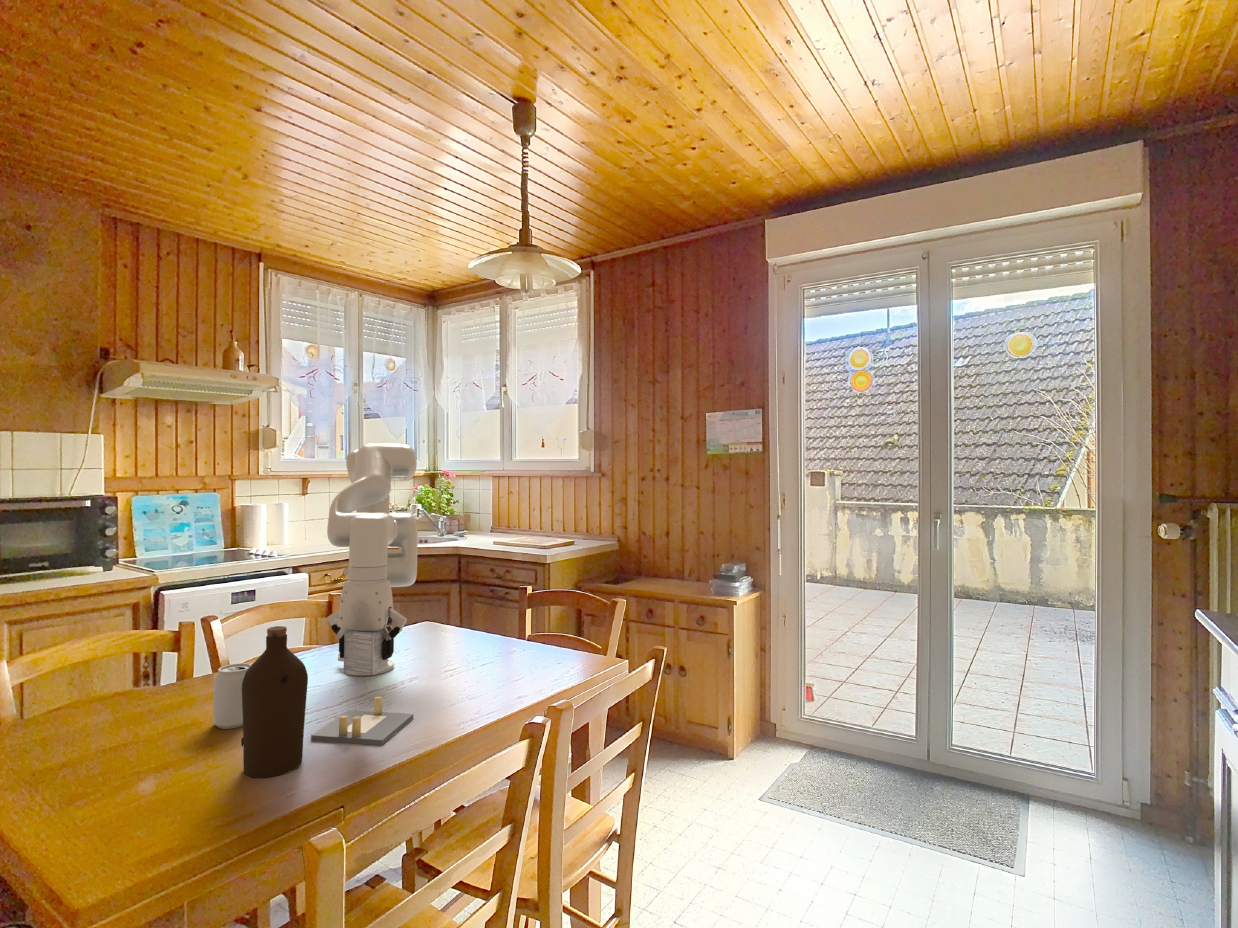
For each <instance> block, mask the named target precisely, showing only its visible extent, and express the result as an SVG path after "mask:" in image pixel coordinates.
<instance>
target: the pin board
mask: <svg viewBox="0 0 1238 928" xmlns="http://www.w3.org/2000/svg"><path fill="white" fill-rule="evenodd" d="M373 705H374V711H369V710H353V709H348V710H347V711H345V712H343V713H342V714H340V715H339V716H337V717H336V718H335V719H333V720H331V721H330V722H328V723H327V724H325V725H324V726H323V727H321V728H319V729H318V730H317V731H315V732H313V733H312V734H311V735H310V741H316V742H317V741H318V742H331V743H333V742H334V743H346V744H348V743H349V744H358V743H361V745H375V746H376V745H377V746H383V745H384V744H385V743H387V742H388V741H389V740H390V739H392V737H394V736H395V735H396V734H397V733H399V731H401V730H402V729H403V728H404V727H405V726H406V725H407V724H409V723H410V722H411V721H412V720H414V713H401V712H389V711H388V712H385V711H383V696H376V697H374V704H373Z"/></svg>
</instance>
